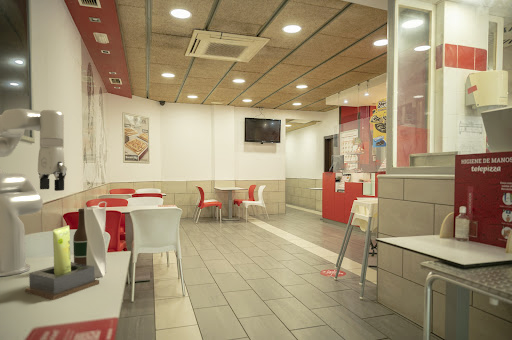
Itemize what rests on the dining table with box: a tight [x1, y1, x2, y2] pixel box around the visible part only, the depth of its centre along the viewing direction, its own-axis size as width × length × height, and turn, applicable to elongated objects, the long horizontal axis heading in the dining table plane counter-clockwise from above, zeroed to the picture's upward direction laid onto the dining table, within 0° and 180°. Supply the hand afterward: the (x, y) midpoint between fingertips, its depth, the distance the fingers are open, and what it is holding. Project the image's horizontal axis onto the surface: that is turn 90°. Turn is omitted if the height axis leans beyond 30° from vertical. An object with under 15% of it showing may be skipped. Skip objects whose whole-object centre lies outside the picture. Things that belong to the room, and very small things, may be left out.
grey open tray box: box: [24, 261, 100, 301], centre depth 113 cm, size 16×16×6 cm
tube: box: [52, 225, 72, 275], centre depth 113 cm, size 6×5×20 cm
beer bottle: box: [72, 207, 88, 265], centre depth 139 cm, size 8×8×24 cm
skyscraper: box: [84, 200, 108, 278], centre depth 126 cm, size 8×8×28 cm
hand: (51, 189), depth 124 cm, fingers open, 9 cm apart
